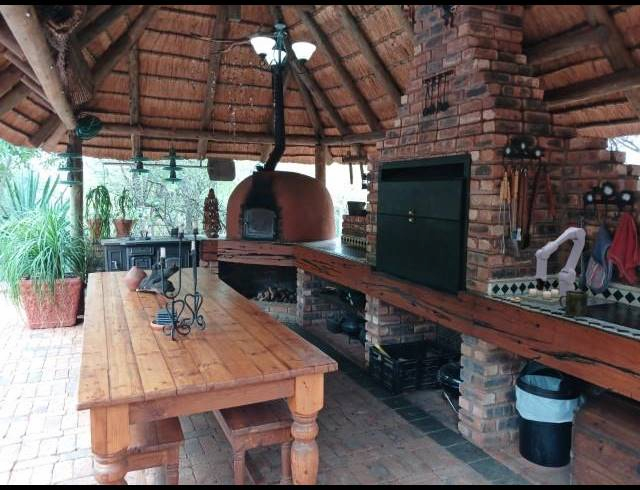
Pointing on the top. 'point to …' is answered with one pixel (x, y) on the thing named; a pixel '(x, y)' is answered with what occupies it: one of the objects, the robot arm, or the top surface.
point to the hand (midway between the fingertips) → (540, 290)
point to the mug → (575, 302)
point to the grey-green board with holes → (540, 299)
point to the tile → (515, 298)
